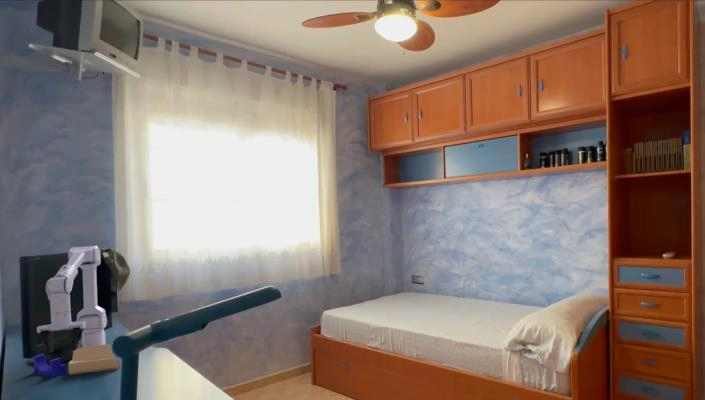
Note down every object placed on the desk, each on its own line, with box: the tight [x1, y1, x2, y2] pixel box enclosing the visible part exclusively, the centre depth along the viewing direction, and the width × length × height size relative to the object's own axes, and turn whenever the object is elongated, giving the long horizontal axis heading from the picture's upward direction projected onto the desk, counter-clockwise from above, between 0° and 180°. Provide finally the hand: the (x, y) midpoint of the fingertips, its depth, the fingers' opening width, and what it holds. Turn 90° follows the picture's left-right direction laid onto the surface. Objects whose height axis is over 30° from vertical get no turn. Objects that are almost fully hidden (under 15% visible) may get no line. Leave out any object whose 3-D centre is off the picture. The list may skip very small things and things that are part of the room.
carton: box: [67, 357, 121, 375], centre depth 162 cm, size 14×17×4 cm
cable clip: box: [33, 353, 67, 378], centre depth 156 cm, size 12×4×6 cm, turn 62°
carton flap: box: [71, 343, 114, 362], centre depth 156 cm, size 4×14×1 cm
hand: (63, 350), depth 149 cm, fingers open, 7 cm apart
